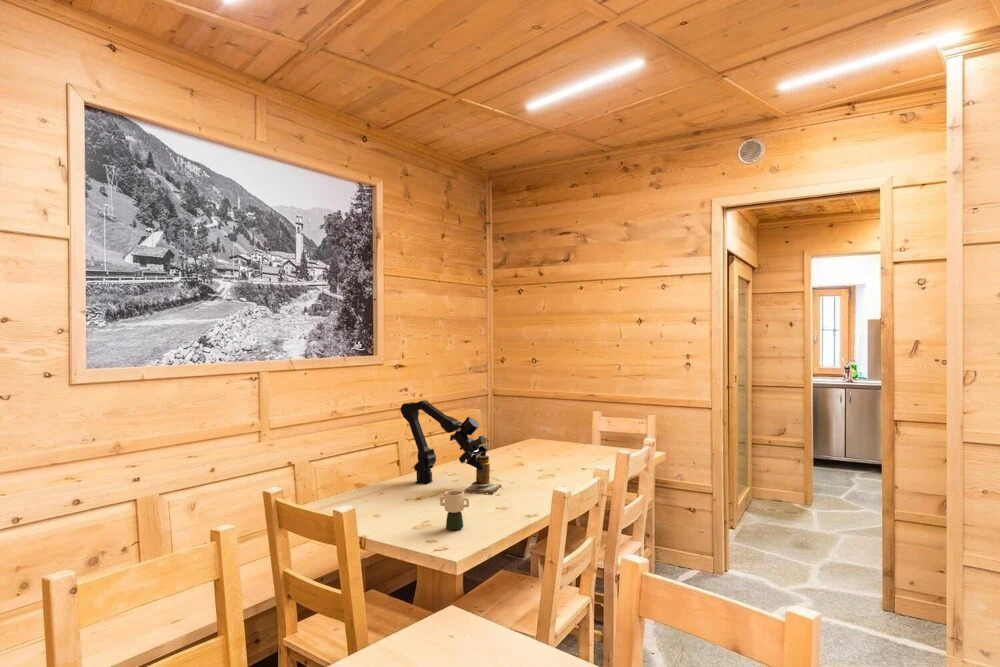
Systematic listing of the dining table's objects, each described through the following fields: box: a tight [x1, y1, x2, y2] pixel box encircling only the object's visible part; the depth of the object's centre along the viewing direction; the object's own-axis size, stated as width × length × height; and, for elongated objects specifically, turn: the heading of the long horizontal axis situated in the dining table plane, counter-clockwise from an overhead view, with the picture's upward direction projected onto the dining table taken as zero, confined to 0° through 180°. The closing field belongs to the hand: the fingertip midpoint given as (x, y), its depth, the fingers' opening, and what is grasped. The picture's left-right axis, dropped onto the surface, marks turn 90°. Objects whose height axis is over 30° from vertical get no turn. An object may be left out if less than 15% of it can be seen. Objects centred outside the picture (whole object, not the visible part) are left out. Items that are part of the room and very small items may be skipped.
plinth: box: [464, 483, 503, 495], centre depth 259 cm, size 13×13×2 cm
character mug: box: [439, 489, 470, 531], centre depth 205 cm, size 11×7×13 cm, turn 78°
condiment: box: [470, 455, 493, 486], centre depth 259 cm, size 7×8×12 cm
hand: (485, 468), depth 259 cm, fingers closed on condiment, 6 cm apart
